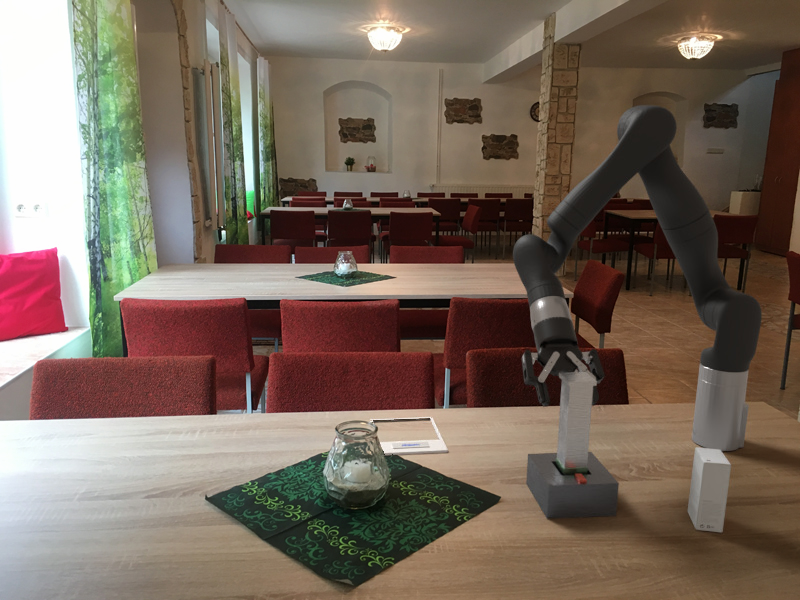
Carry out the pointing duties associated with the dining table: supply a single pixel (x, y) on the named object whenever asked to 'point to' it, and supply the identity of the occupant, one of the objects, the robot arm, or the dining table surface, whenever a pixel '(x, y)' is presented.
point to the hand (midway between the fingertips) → (570, 404)
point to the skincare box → (709, 489)
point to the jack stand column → (574, 422)
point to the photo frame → (414, 443)
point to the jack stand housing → (571, 488)
